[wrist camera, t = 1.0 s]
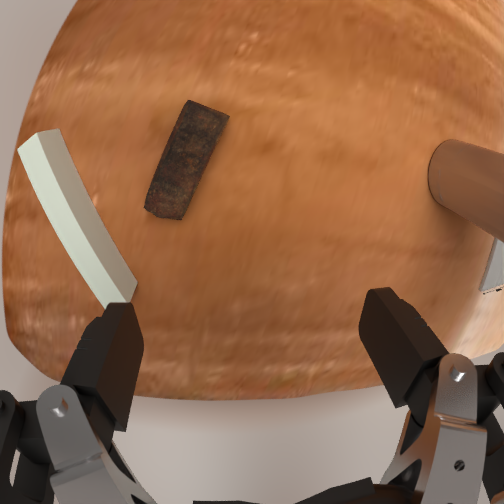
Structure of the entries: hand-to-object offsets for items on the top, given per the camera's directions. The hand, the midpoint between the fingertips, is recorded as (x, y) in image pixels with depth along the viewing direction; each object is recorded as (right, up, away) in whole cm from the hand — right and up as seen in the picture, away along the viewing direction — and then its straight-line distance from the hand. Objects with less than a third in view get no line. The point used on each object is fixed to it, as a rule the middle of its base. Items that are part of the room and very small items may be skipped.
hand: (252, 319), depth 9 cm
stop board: (-18, +6, +18) cm, 26 cm away
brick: (-6, +12, +17) cm, 22 cm away
